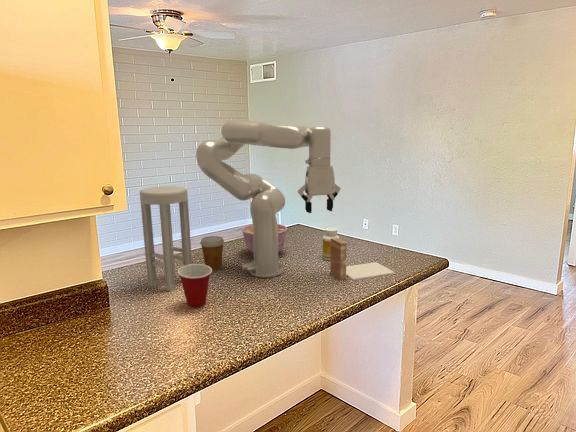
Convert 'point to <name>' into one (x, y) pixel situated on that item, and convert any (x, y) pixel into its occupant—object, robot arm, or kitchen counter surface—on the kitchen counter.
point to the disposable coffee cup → (212, 251)
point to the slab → (338, 258)
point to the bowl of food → (249, 236)
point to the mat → (367, 271)
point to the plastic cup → (195, 283)
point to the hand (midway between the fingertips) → (319, 211)
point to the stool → (165, 231)
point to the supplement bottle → (328, 242)
